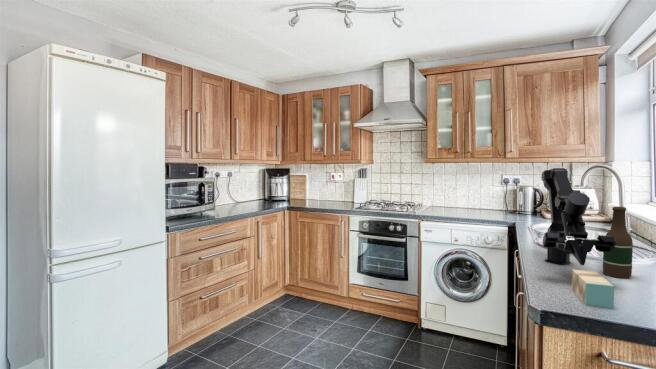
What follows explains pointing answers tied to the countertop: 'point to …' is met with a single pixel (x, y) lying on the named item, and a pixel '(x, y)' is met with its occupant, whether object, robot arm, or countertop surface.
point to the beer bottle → (619, 248)
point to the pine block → (593, 288)
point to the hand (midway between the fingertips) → (582, 264)
